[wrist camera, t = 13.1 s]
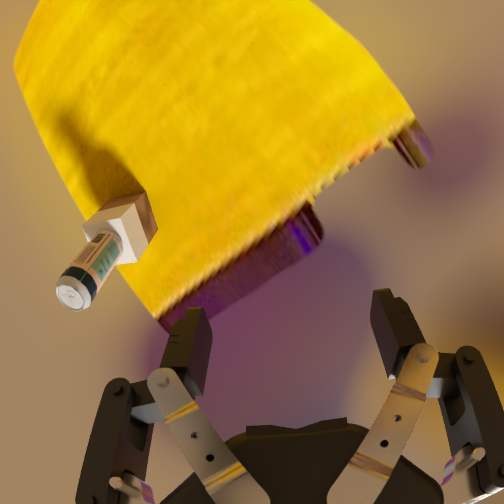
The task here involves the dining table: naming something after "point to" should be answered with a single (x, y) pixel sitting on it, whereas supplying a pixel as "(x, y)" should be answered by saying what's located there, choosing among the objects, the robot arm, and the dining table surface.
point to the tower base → (142, 210)
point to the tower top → (120, 230)
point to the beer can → (89, 271)
